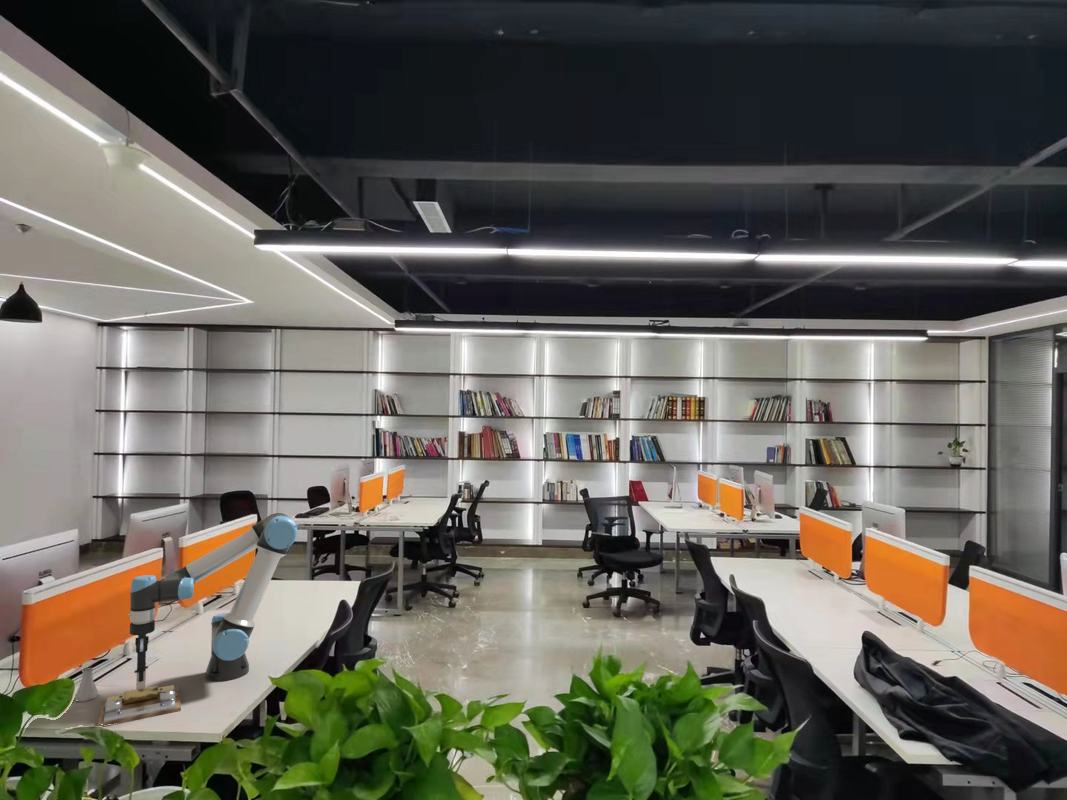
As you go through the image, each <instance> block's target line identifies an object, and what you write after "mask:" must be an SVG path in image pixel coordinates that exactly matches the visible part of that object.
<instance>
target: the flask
mask: <svg viewBox="0 0 1067 800" xmlns="http://www.w3.org/2000/svg"><path fill="white" fill-rule="evenodd" d="M93 671H94V668H93V667H88V668H84V669H82V670H81V672H82V677H81V681H80V683H79V686H78V689H77V691H76V694H75V695H74V697H73V700H74V701H75V700H78V702H81V703H82V702H83V703H84V702H87V701H91V700H94V699H96V698H98V697H100V693H99V690H98V688H97V686H96V683H95V681H94V677H93Z"/></svg>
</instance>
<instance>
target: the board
mask: <svg viewBox="0 0 1067 800" xmlns="http://www.w3.org/2000/svg"><path fill="white" fill-rule="evenodd" d="M179 688H180V687H179V686H177V687H174V689H175V693H177V697H175V702H176V708H172V709H167V710H162V711H157V712H152V713H147V714H142V715H138V716H133V717H128V718H123V719H118V720H113V721H108V722H104V716H105V711H103V707H104V706H105V702H107V700H104V701H101V707H100V713H99V718H98V724H97V727H98V726H103V727H102V728H104V727H105V728H106V726H104V725H108V724H114V723H117V724H116V725H118V723H119V724H124V723H129V722H133V721H139V720H142V719H148V718H152V717H158V716H163V715H166V714H167V715H168V714H172V713H176V712H181V711H182V706H181V699H180V697H181V696H180V689H179ZM157 703H160V695H158V698H155V699H150V700H145V701H140V702H135V703H130V704H125V705H124V702H122V710H126V709H131V708H137V707H142V706H147V705H152V704H157ZM101 724H103V725H101ZM109 726H111V725H108V726H107V727H109Z"/></svg>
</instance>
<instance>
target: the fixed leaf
mask: <svg viewBox="0 0 1067 800" xmlns="http://www.w3.org/2000/svg"><path fill="white" fill-rule="evenodd" d="M175 697H177V693H175V689H171V690H166V691H161V692H160V703H157V704H152V705H147V706H142V707H137V708H131V709H126V710H122V699H119V700H113V701H108V702H105V706H104V707H103V711H105V716H104V722H108V721H113V720H118V719H123V718H128V717H133V716H138V715H142V714H147V713H152V712H157V711H162V710H167V709H172V708H176V702H175Z"/></svg>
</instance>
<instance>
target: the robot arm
mask: <svg viewBox="0 0 1067 800" xmlns="http://www.w3.org/2000/svg"><path fill="white" fill-rule="evenodd" d="M297 536H298V527H297V523H295V521H294V519H292V518H291V517H289V516H288V515H287V514H284V513H281V512H280V513H279V512H276V513H273V514H270V515H268V516H266V517H265V518H262V519H261V520H260V521H258V522H257V523H255V524H254V525H252V526H250V529H249V530H247V531H246V532H244V533H242V534H241V535H239V536H237V537H235V538H234V539H232V540H230V541H228V542H227V543H224V544H223V545H221V546H219V547H217V548H215V549H214V550H211V551H209V552H208V553H207V554H205V555H203V556H201V557H199V558H198V559H196V560H194V561H192V562H190V563H188V564H187V565H185V566H182V567H181V568H179V569H175V570H173V571H171V572H169V573H168V574H167V576H166V577H165V579H163V580H157V576H155V575H154V574H149V575H148V574H145V575H139V576H136V577H133V578H132V579H131V582H130V584H131V585H130V592H129V593H130V612H129V613H127V616H128V617H129V619H130V620H129V621H130V622H131V623H129V634H130V635H131V636H137V637H135V643H134V644H135V652H136V654H137V656H136V657H137V658H136V660H137V661H136V670H134V674H136V678H135V679H136V680H135V681H136V684H135V686H136V687H135V690H138V689H143V688H146V679H147V678H146V676H147V674H146V673H147V670H148V669H149V666H148V665H147V662H146V659H147V657H146V655H147V651H148V648H149V647H148V646H149V645H148V644H149V640H150V639H149V638H150V637H149V635H147V634H151V633H154V631H155V630H156V628H155V627H156V620H155V619H156V603H162V602H163V603H164V602H174V601H175V602H176V601H184V600H189V599H193V598H194V592H195V591H194V589H195V588H194V586H195V585H194V584H196V583H197V582H200V581H201V580H203V579H205V578H207V577H208V576H211V574H213V573H215V572H217V571H219V570H221V569H222V568H224V567H226V566H228V565H229V564H231V563H233V562H234V561H237V560H238V559H240V558H242V557H244V556H246V555H247V554H249V553H251V552H252V551H254V550H255V549H257V552H256V555H255V557H254V559H253V561H252V564H251V566H250V568H249V570H248V572H247V574H246V577H245V579H244V581H243V583H242V585H241V588H240V590H239V592H238V594H237V596H236V599H235V601H234V603H233V605H232V607H231V610H230V612H223V613H220V614H215V615H213V616H212V618H211V623H210V625H211V643H210V644H211V649H210V651H211V652H210V659H209V661H208V665H207V667H206V670H205V678H206V679H207V680H209V681H213V682H219V681H220V682H221V681H222V682H223V681H228V680H230V681H231V680H233V679H237V678H241V677H243V676H245V675H247V674H248V673H249V671H250V663H249V661H248V658H247V655H246V652H247V650H248V648H249V643H250V640H249V639H250V637H251V635H252V633H253V631H254V628H255V626H256V623H255V621H254V619H255V616H256V614H257V612H258V609H259V606H260V604H261V602H262V600H263V597H264V595H265V594H266V591H267V589H268V586H269V585H270V582H271V580H272V579H273V576H274V574H275V571H276V569H277V567H278V564H279V562H280V560H281V558H283V557H285V556H287V554H288V552H289V550H290V547H291V546H292V545H293V544H294V542H295V541H296V539H297V538H298V537H297Z"/></svg>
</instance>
